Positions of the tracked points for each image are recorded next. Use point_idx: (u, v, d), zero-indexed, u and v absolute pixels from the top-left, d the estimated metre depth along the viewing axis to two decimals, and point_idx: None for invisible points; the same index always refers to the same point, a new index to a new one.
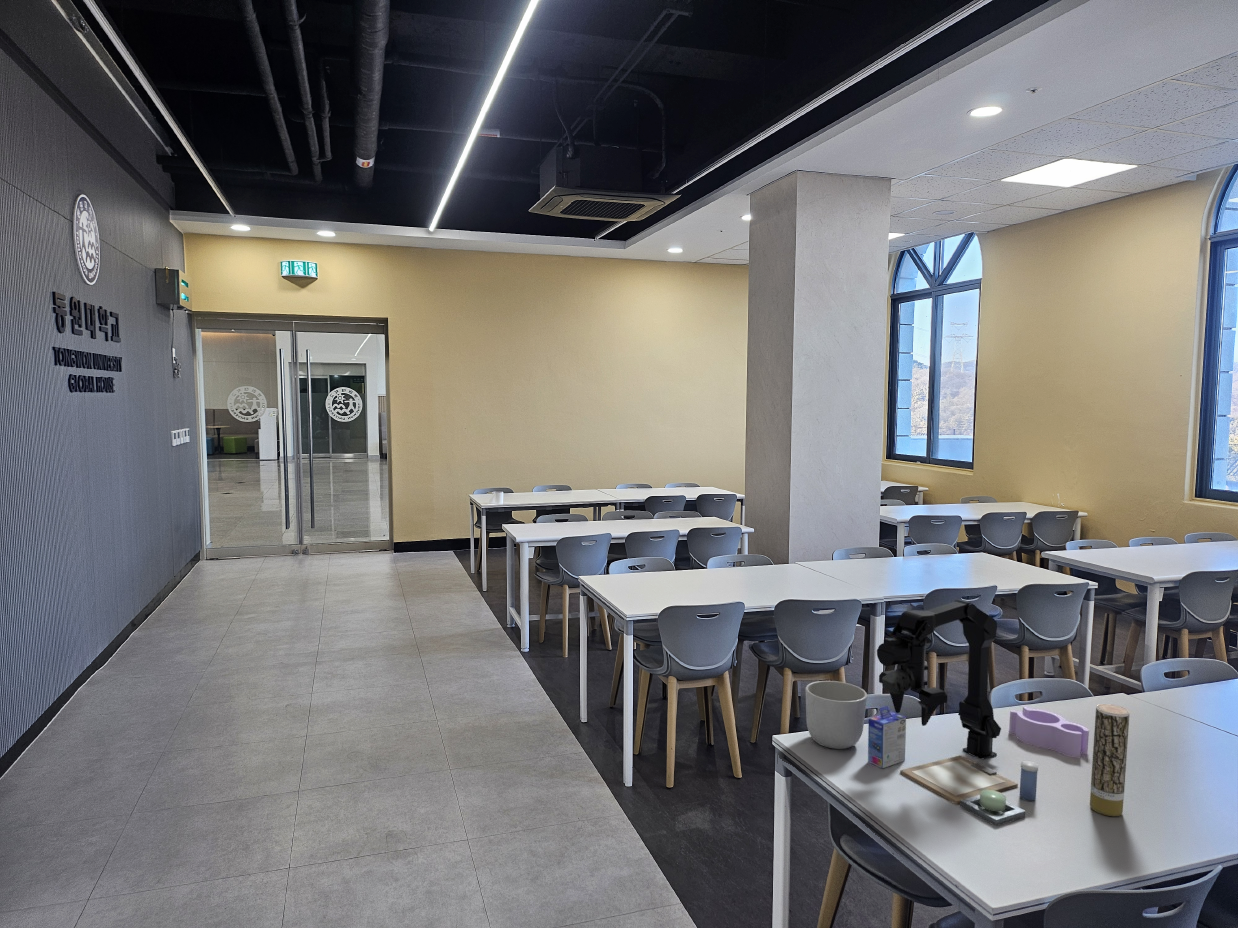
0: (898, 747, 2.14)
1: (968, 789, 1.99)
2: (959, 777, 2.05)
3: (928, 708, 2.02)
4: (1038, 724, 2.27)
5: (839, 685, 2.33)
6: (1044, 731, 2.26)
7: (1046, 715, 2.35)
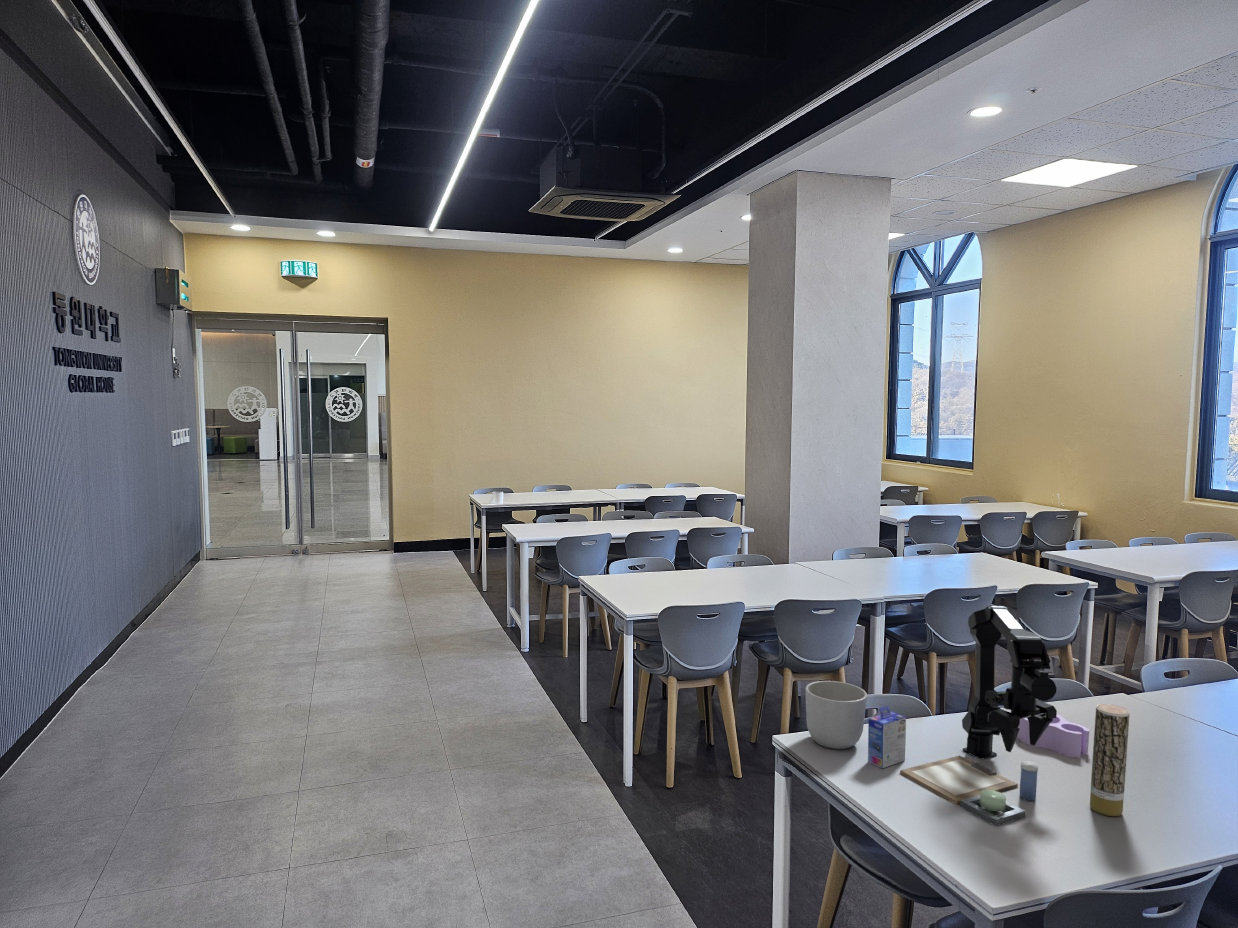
0: (898, 747, 2.14)
1: (968, 789, 1.99)
2: (959, 777, 2.05)
3: (1006, 732, 1.93)
4: None
5: (839, 685, 2.33)
6: (1045, 731, 2.26)
7: None
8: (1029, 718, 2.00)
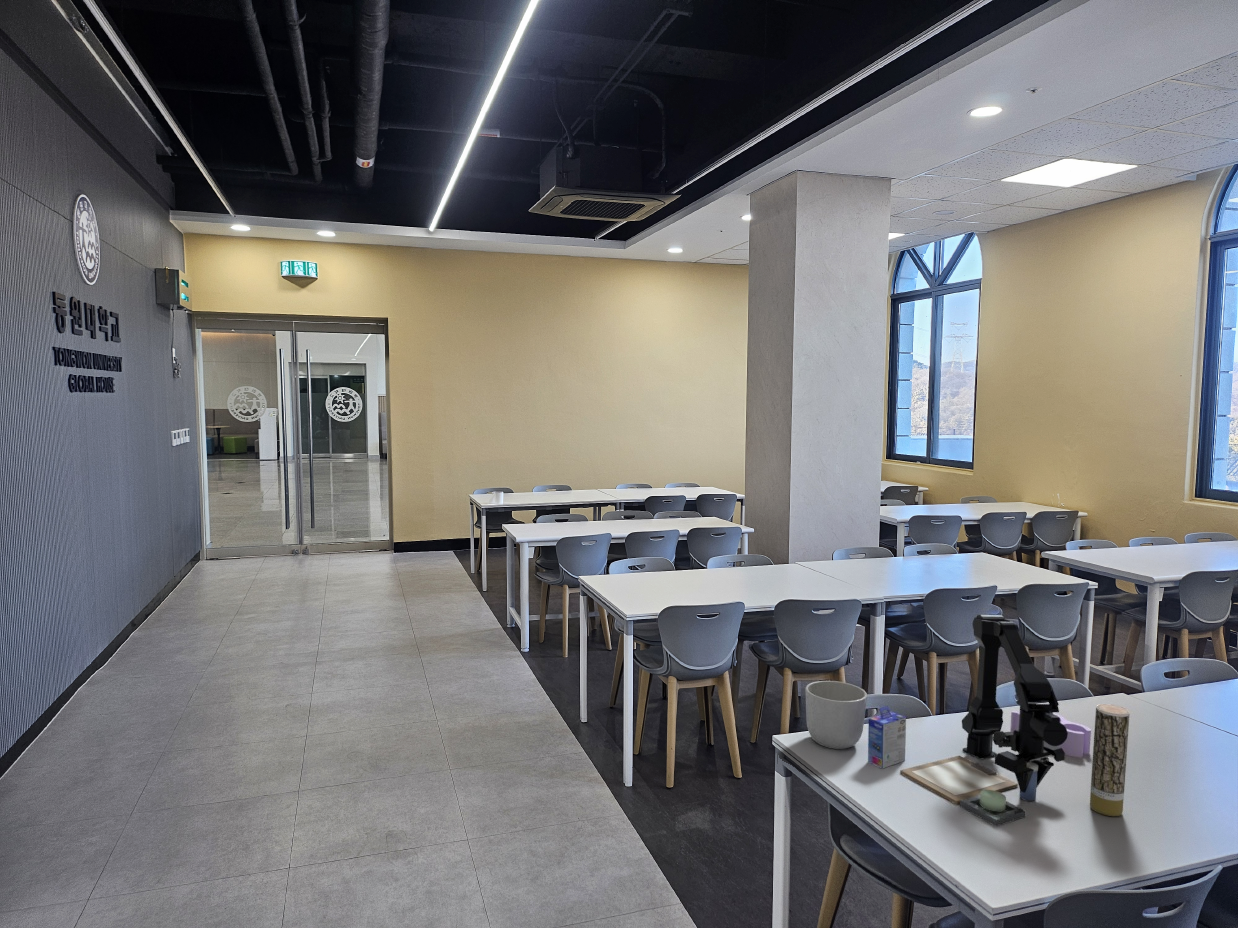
0: (898, 747, 2.14)
1: (968, 789, 1.99)
2: (959, 777, 2.05)
3: (1020, 773, 1.94)
4: None
5: (839, 685, 2.33)
6: None
7: None
8: (1030, 761, 1.98)
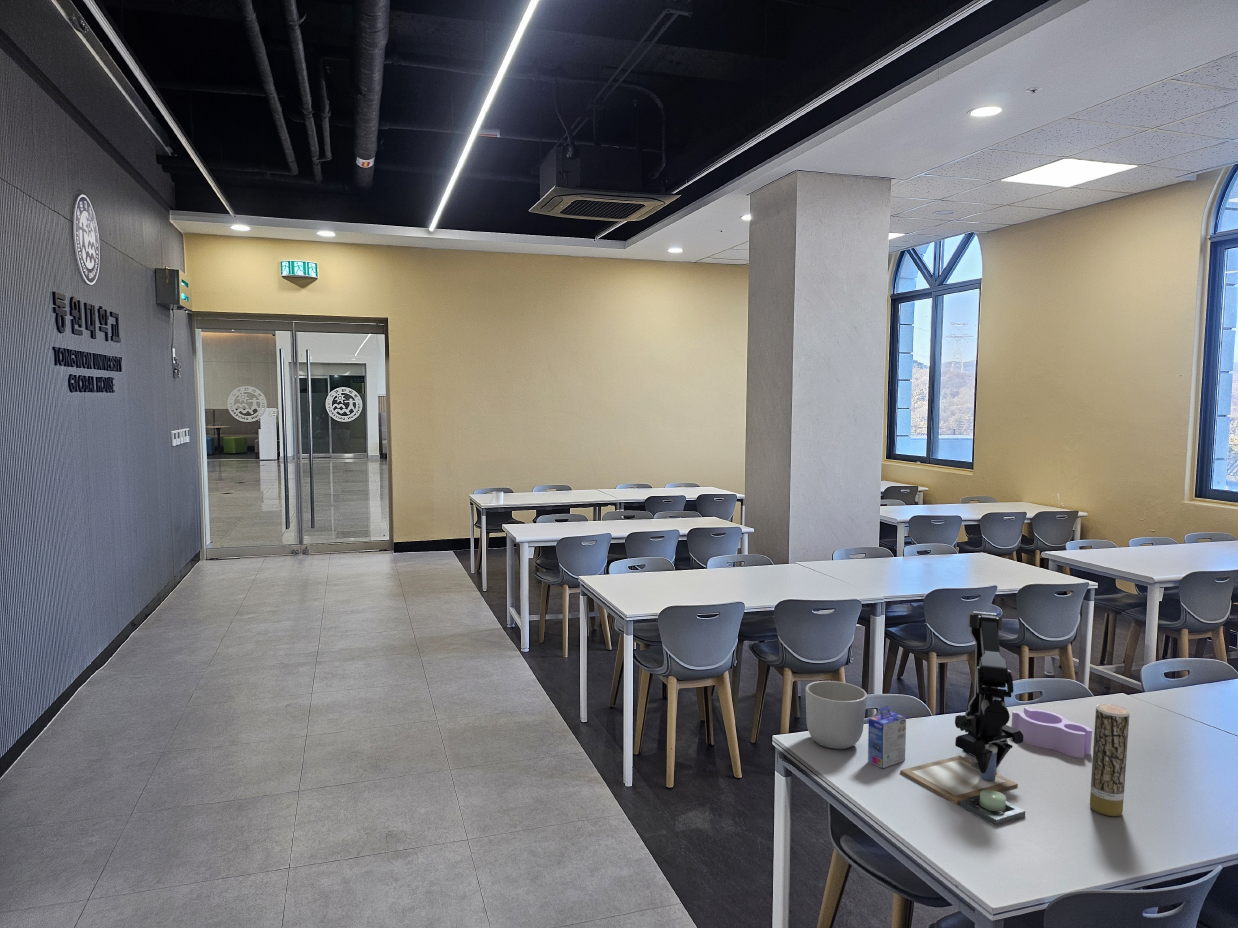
0: (898, 747, 2.14)
1: (968, 789, 1.99)
2: (959, 777, 2.05)
3: (980, 755, 2.02)
4: (1041, 725, 2.26)
5: (839, 685, 2.33)
6: (1048, 731, 2.26)
7: (1048, 715, 2.35)
8: None
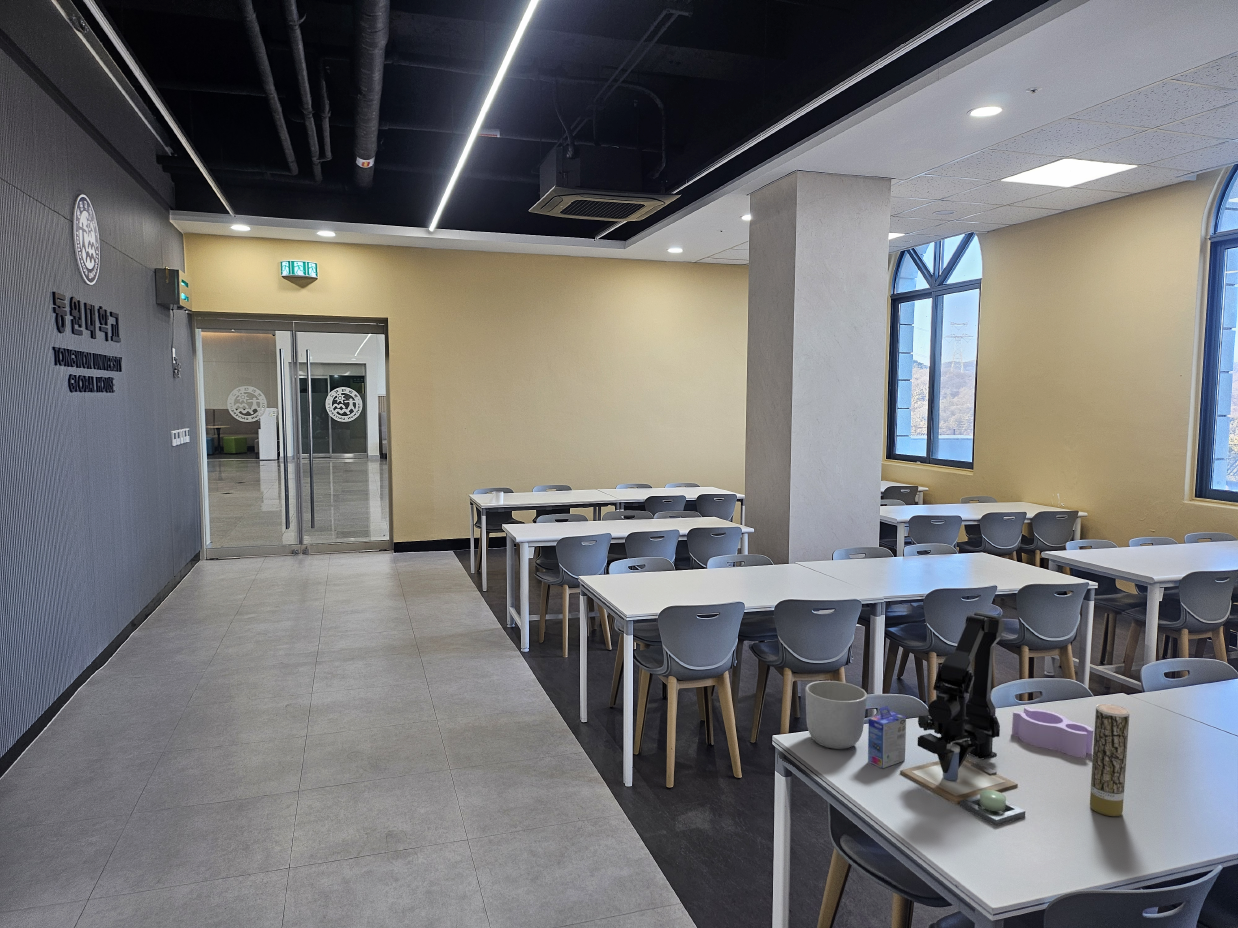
0: (898, 747, 2.14)
1: (968, 789, 1.99)
2: (959, 777, 2.05)
3: (942, 754, 2.02)
4: (1043, 725, 2.26)
5: (839, 685, 2.33)
6: (1049, 731, 2.26)
7: (1048, 715, 2.35)
8: None
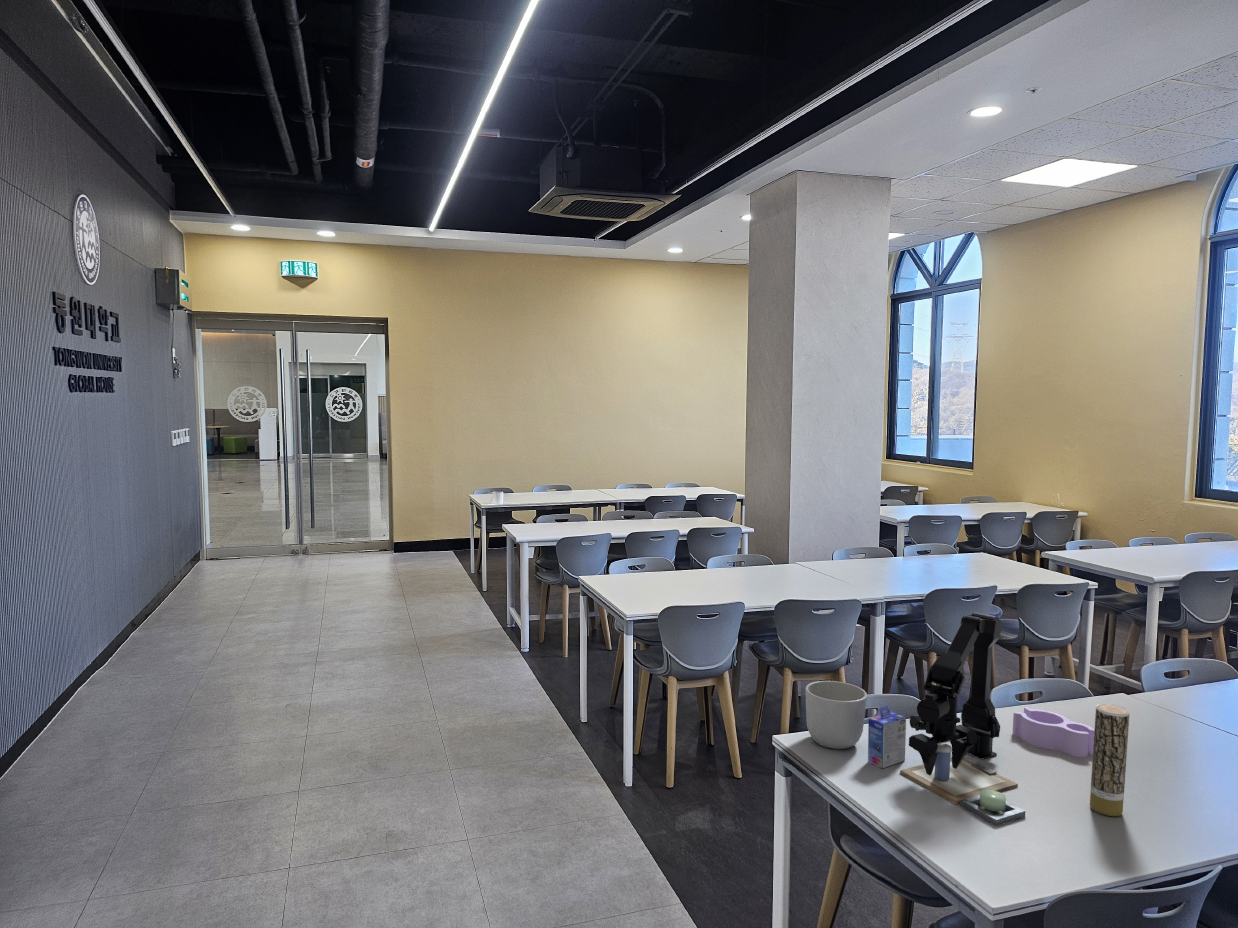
0: (898, 747, 2.14)
1: (968, 789, 1.99)
2: (959, 777, 2.05)
3: (926, 756, 2.01)
4: (1044, 725, 2.26)
5: (839, 685, 2.33)
6: (1051, 732, 2.26)
7: (1048, 715, 2.35)
8: (952, 742, 2.07)
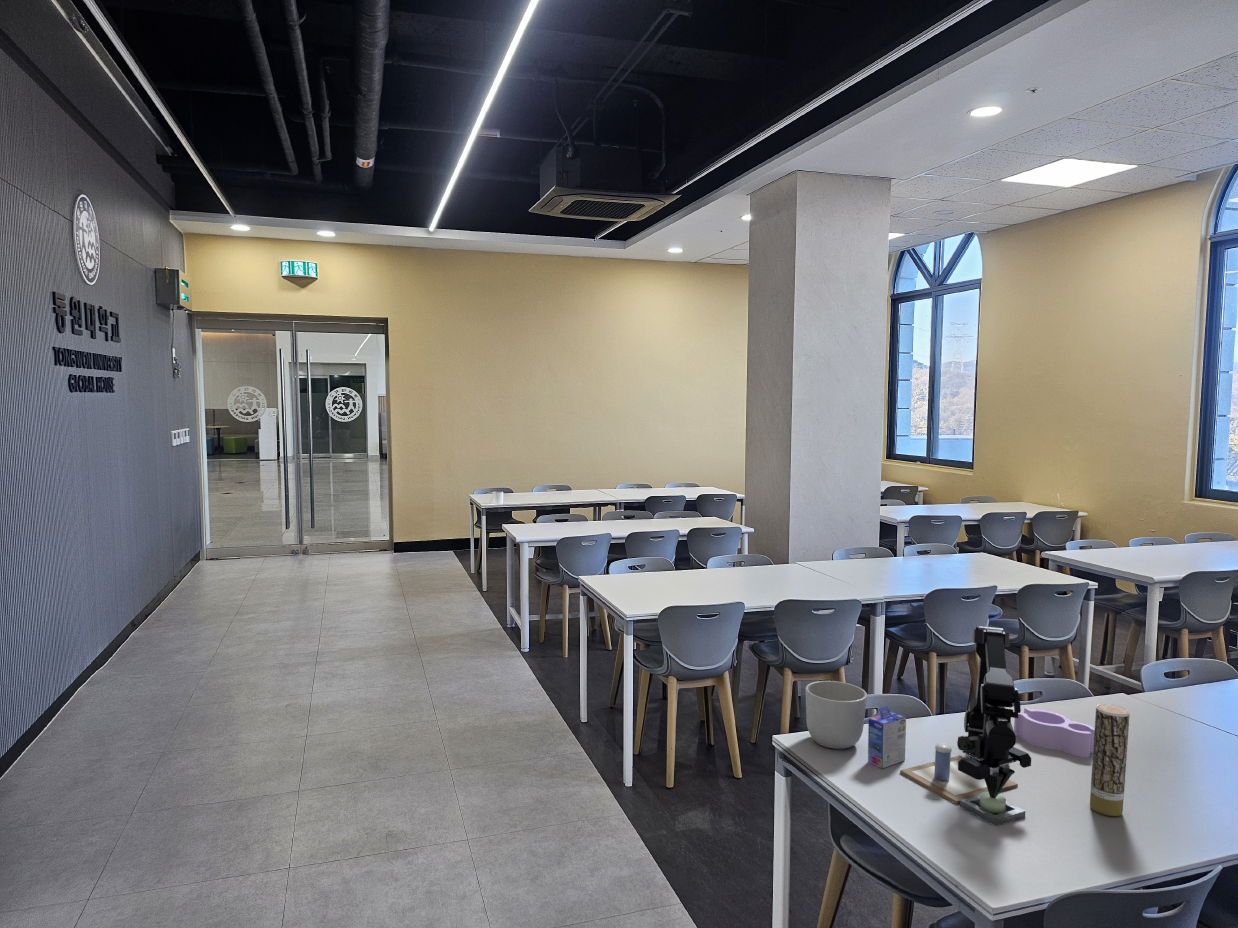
0: (898, 747, 2.14)
1: (968, 789, 1.99)
2: (959, 777, 2.05)
3: (990, 778, 1.88)
4: (1047, 725, 2.26)
5: (839, 685, 2.33)
6: (1053, 732, 2.26)
7: (1049, 715, 2.35)
8: None
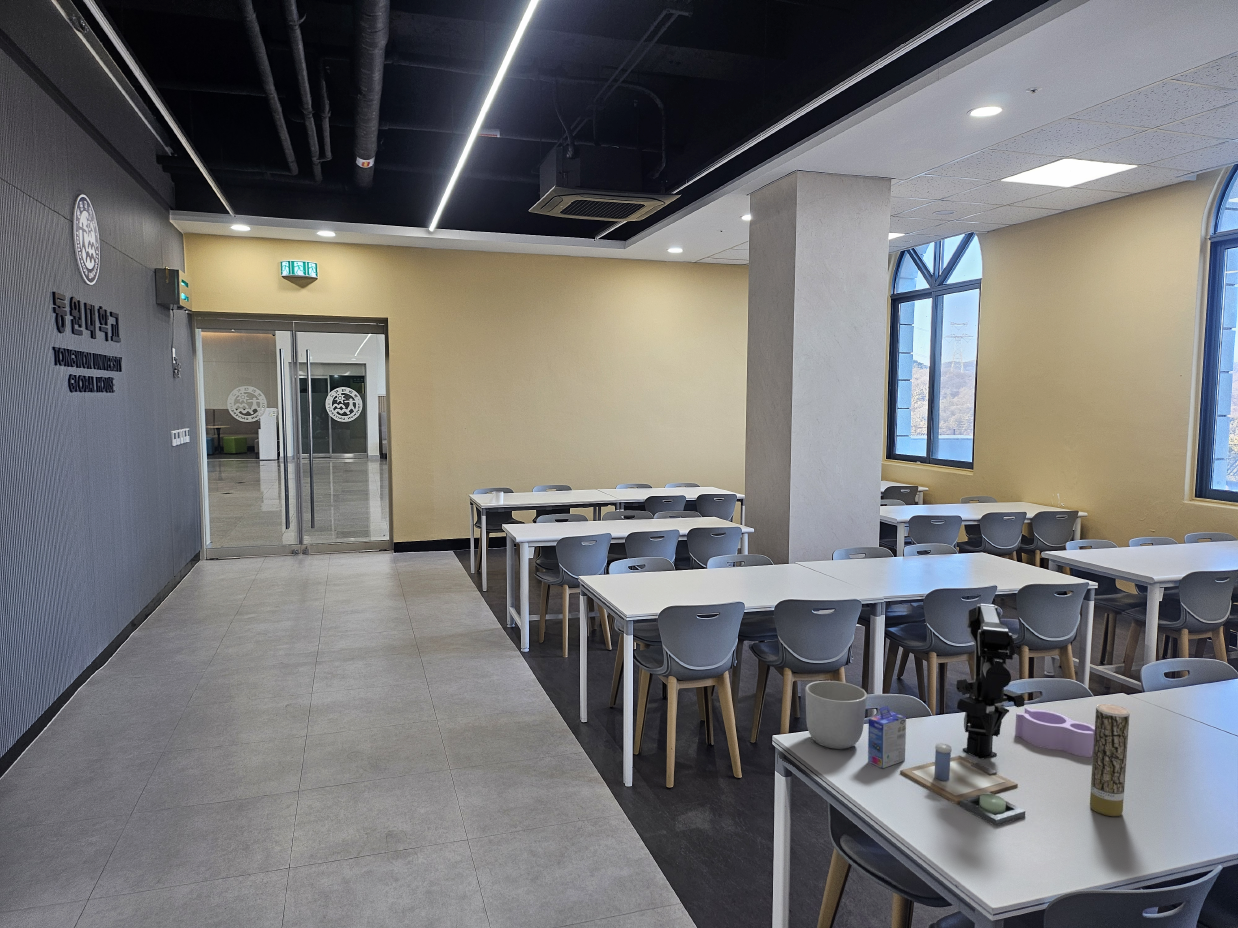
0: (898, 747, 2.14)
1: (968, 789, 1.99)
2: (959, 777, 2.05)
3: (986, 717, 2.04)
4: (1049, 726, 2.26)
5: (839, 685, 2.33)
6: (1055, 732, 2.25)
7: (1049, 715, 2.35)
8: None
